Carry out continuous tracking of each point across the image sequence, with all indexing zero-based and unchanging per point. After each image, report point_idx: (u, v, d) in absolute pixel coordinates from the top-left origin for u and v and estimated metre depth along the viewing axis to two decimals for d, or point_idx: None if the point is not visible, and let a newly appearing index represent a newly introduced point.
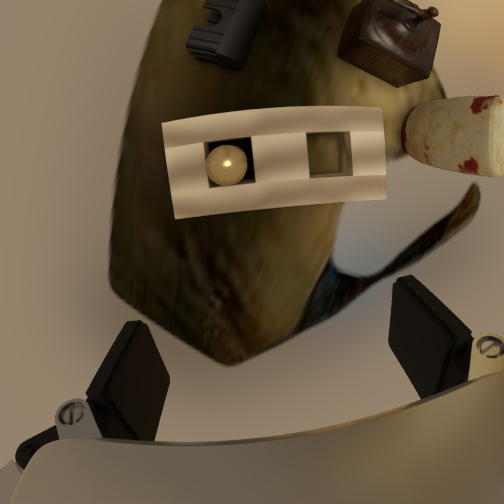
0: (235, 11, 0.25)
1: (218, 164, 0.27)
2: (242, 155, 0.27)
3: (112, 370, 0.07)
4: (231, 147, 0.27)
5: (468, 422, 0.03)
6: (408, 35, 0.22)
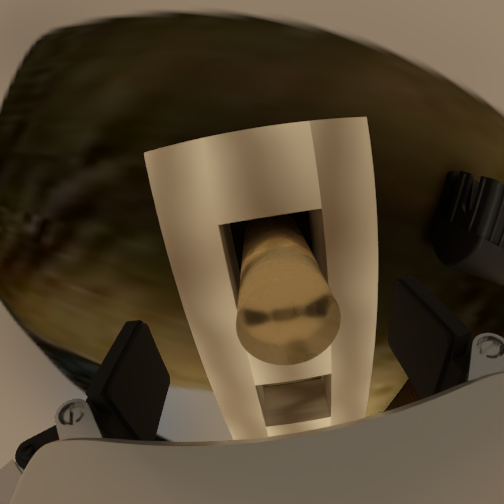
0: None
1: (293, 310, 0.10)
2: (312, 355, 0.11)
3: (112, 370, 0.07)
4: (333, 333, 0.11)
5: (468, 422, 0.03)
6: None
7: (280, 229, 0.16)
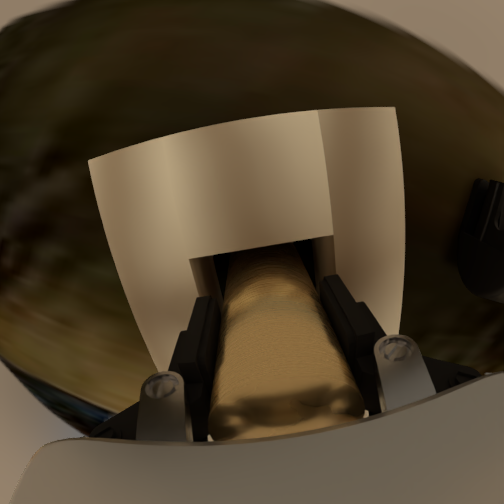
0: None
1: (295, 413, 0.06)
2: None
3: (199, 339, 0.08)
4: None
5: (468, 422, 0.03)
6: None
7: (275, 263, 0.11)
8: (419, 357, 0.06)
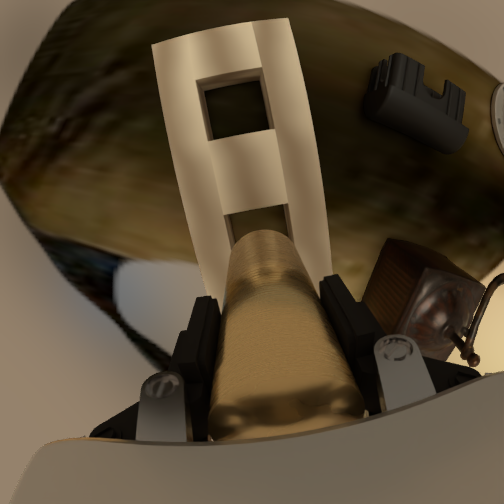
0: (444, 115, 0.20)
1: (294, 412, 0.06)
2: None
3: (199, 339, 0.08)
4: None
5: (468, 422, 0.03)
6: (434, 329, 0.23)
7: (275, 263, 0.11)
8: (419, 357, 0.06)
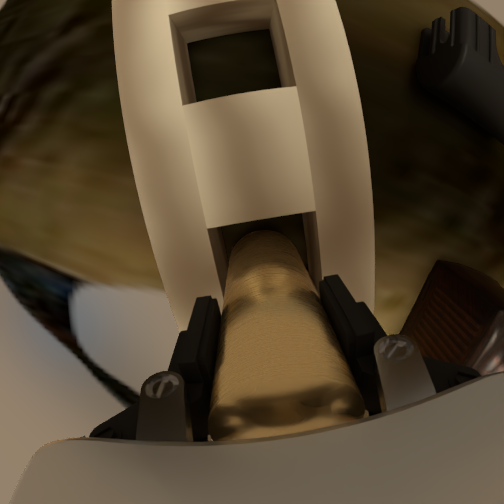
0: None
1: (295, 412, 0.06)
2: None
3: (199, 339, 0.08)
4: None
5: (468, 422, 0.03)
6: None
7: (275, 263, 0.11)
8: (419, 357, 0.06)
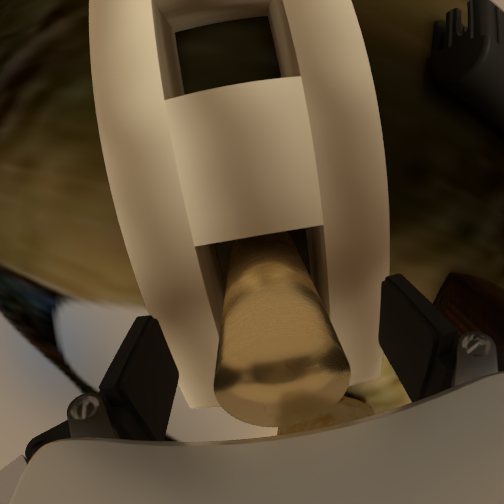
0: None
1: (289, 371, 0.07)
2: (312, 416, 0.08)
3: (125, 364, 0.07)
4: (339, 393, 0.08)
5: (468, 422, 0.03)
6: None
7: (272, 250, 0.13)
8: (494, 358, 0.05)
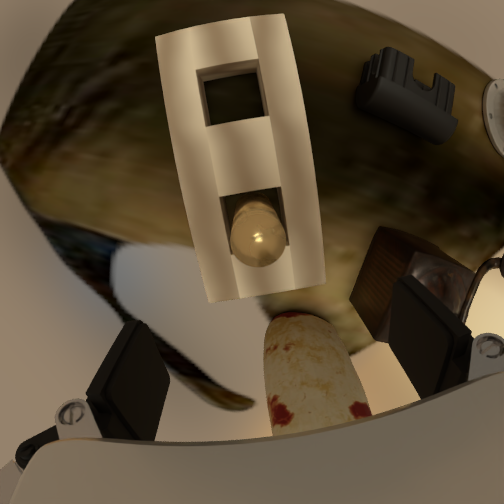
0: (433, 105, 0.21)
1: (259, 231, 0.21)
2: (272, 260, 0.21)
3: (112, 370, 0.07)
4: (282, 246, 0.21)
5: (468, 422, 0.03)
6: None
7: (256, 199, 0.26)
8: None
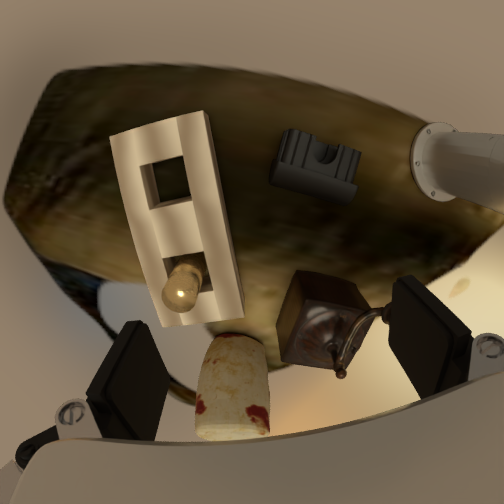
0: (330, 178, 0.31)
1: (178, 292, 0.31)
2: (189, 309, 0.32)
3: (112, 370, 0.07)
4: (194, 301, 0.31)
5: (468, 422, 0.03)
6: (317, 345, 0.34)
7: (187, 260, 0.36)
8: None
